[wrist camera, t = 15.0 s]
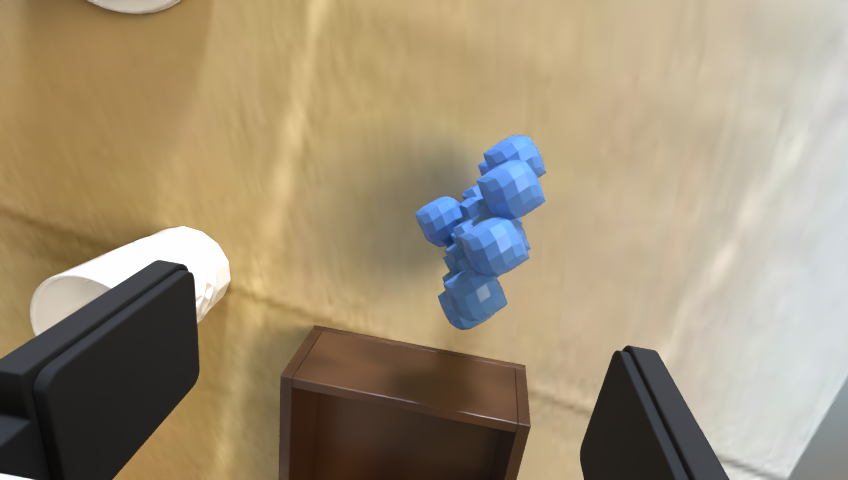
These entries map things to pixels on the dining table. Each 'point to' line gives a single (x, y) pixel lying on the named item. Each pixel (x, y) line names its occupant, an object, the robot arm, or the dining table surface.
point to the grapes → (485, 230)
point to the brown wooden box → (399, 412)
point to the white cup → (119, 264)
